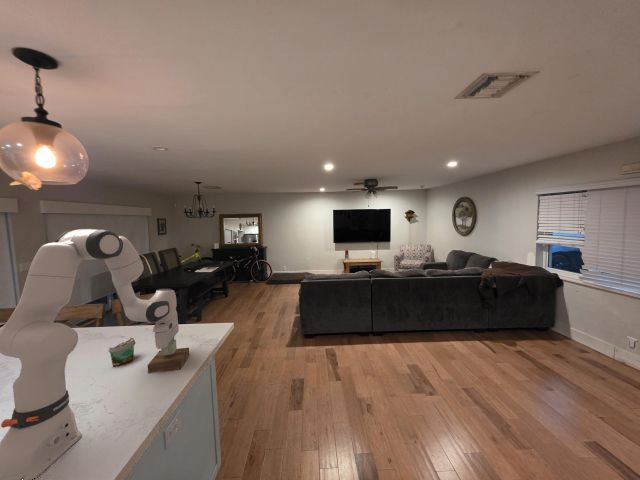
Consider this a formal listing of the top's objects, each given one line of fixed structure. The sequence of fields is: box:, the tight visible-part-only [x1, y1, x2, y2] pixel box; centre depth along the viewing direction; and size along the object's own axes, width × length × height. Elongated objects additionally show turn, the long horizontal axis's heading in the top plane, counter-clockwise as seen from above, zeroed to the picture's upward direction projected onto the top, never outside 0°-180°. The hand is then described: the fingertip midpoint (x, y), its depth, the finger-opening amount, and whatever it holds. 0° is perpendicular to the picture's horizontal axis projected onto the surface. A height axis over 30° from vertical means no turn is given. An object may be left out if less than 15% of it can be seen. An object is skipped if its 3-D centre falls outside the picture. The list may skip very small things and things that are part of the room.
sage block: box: [160, 339, 178, 355], centre depth 130 cm, size 5×5×5 cm
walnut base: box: [147, 347, 190, 374], centre depth 130 cm, size 14×14×4 cm
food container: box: [108, 337, 136, 368], centre depth 133 cm, size 12×6×10 cm, turn 168°
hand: (169, 349), depth 130 cm, fingers closed on sage block, 5 cm apart
